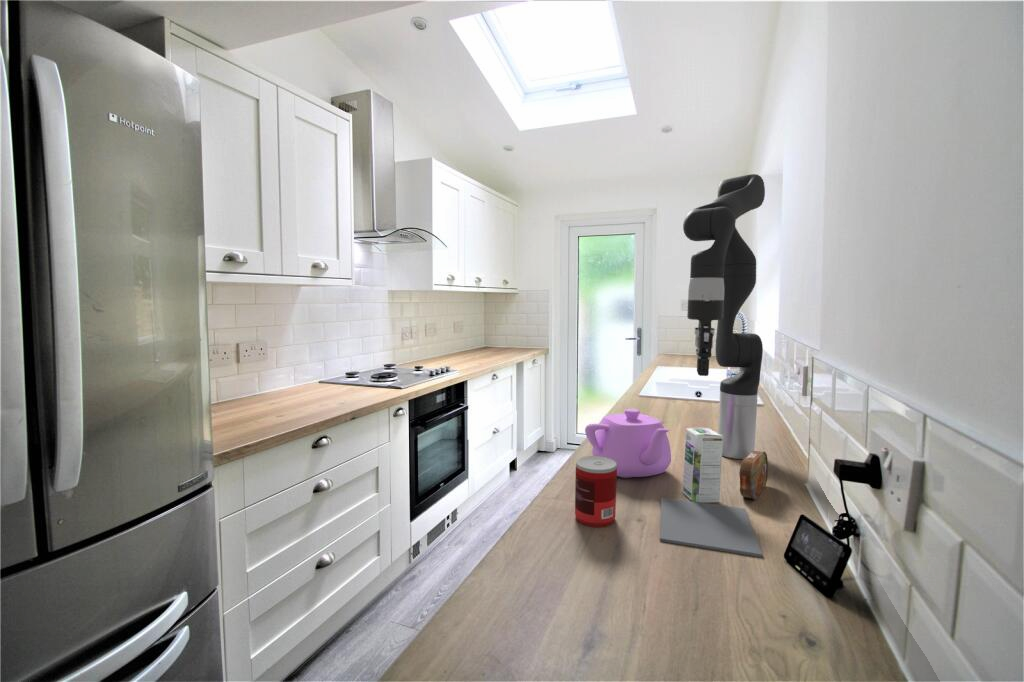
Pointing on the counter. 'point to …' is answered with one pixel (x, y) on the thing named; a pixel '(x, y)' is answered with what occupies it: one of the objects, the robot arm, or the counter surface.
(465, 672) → the counter surface
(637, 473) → the teapot
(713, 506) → the mat
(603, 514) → the canned food
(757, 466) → the tin
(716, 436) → the syrup box
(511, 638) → the counter surface
